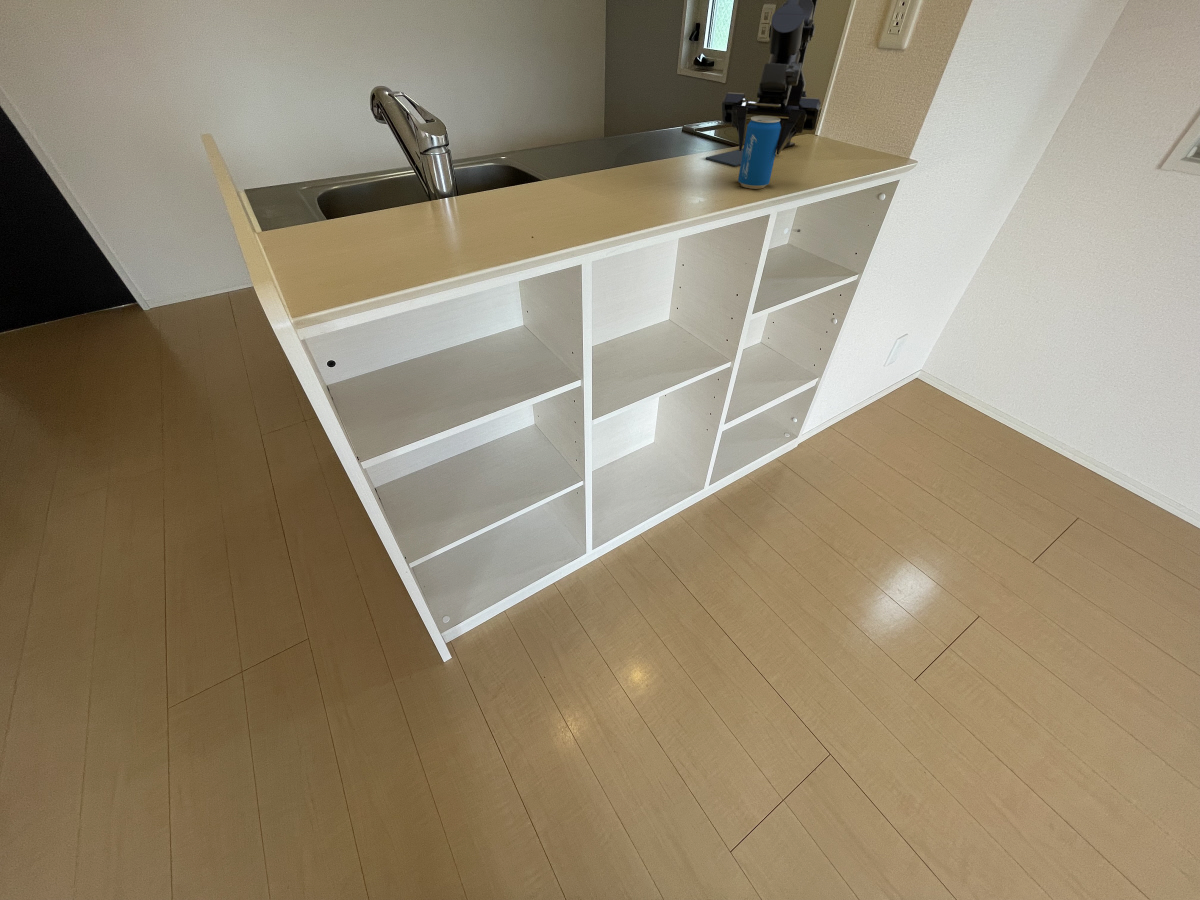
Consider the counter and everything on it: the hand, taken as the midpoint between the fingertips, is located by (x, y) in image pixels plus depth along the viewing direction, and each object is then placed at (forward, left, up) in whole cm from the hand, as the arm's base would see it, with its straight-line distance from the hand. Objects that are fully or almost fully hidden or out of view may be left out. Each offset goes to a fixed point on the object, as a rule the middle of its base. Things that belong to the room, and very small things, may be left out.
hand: (758, 151), depth 101 cm
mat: (-18, -17, -7) cm, 26 cm away
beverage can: (-1, -1, -7) cm, 7 cm away
